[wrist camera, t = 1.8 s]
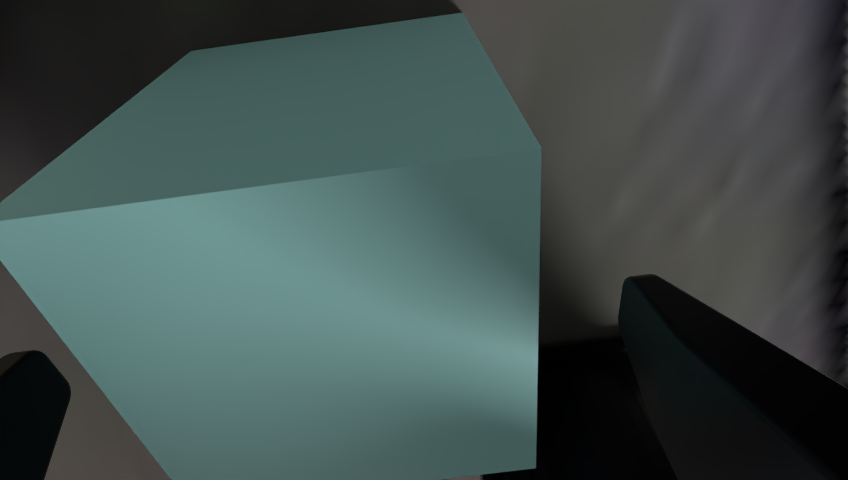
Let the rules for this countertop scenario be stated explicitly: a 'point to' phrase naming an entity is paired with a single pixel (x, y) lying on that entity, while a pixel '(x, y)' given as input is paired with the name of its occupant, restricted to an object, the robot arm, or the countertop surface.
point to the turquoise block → (303, 259)
